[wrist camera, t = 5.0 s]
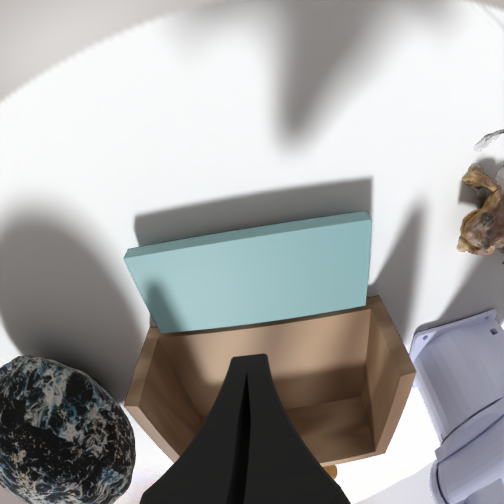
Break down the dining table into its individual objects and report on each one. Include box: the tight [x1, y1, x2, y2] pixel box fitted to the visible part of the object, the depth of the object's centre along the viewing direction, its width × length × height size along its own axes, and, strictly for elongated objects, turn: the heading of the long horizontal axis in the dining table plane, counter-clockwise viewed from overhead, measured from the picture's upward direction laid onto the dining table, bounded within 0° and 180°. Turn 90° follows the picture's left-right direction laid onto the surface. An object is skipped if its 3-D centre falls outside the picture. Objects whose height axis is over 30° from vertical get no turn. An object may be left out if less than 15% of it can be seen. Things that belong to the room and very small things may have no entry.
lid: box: [123, 211, 372, 333], centre depth 19 cm, size 14×2×6 cm
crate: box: [124, 296, 417, 467], centre depth 21 cm, size 17×12×7 cm
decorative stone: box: [0, 356, 136, 504], centre depth 19 cm, size 16×16×15 cm
